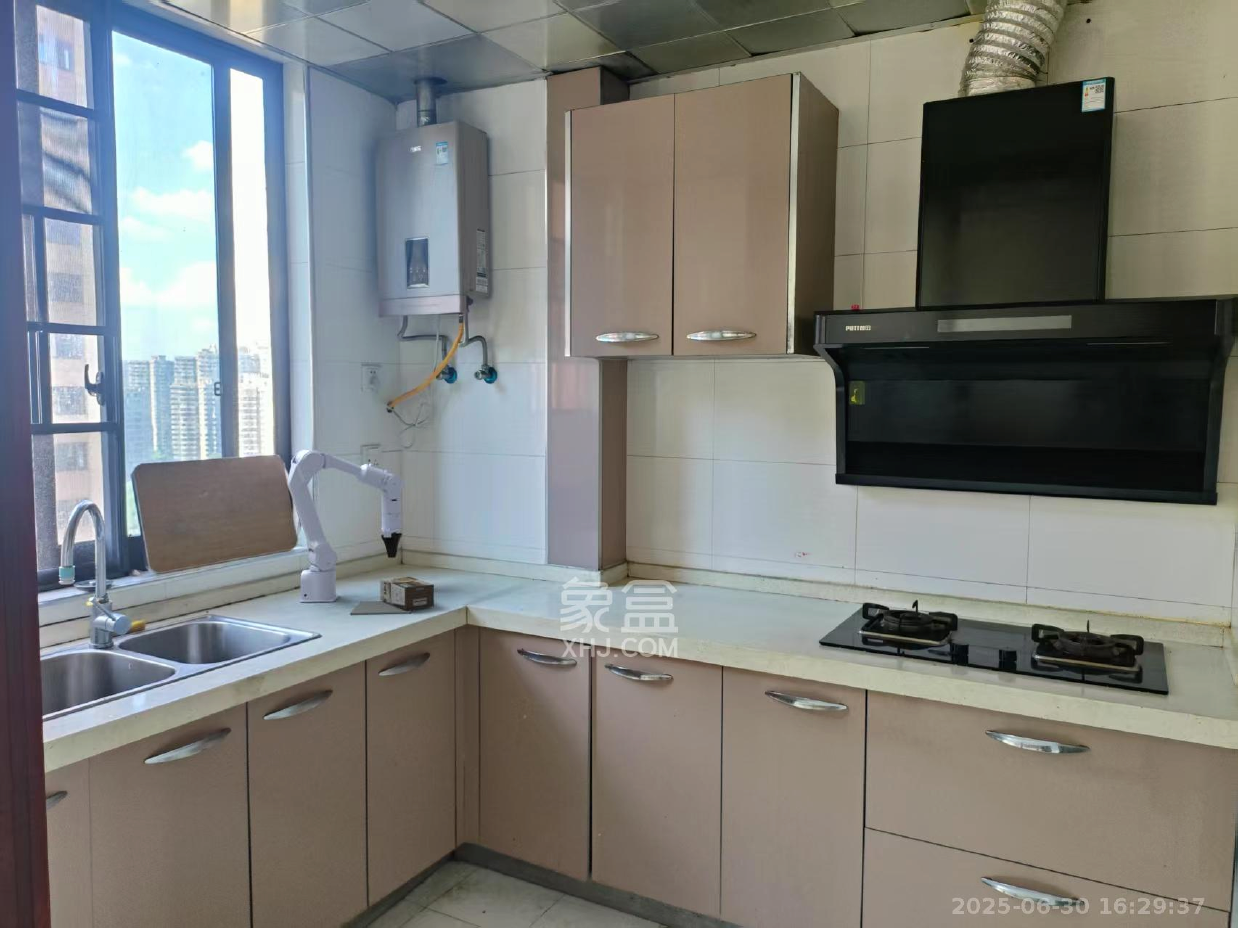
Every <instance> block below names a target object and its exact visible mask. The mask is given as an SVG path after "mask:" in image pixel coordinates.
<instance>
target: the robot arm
mask: <svg viewBox="0 0 1238 928" xmlns="http://www.w3.org/2000/svg"><path fill="white" fill-rule="evenodd" d="M323 469H324V470H327V469H328V470H329V469H335V470H338V471H341V472H343V473H347V474H350V475H353V476H355V477H356V479H357V481H358V483H361V484H363V485H367V486H370V487H372V488H375V489H377V490H380V491H381V500H380V501H381V528H380V530H381V532H383V534H381V537H380V538H381V540H382V542H383V543H384V546H385V549H386V554H387V558H389V559H390V558H391V559H393V558H396V557H397V553H398V547H399V543H400V540H401V538H402V536H403V533H402V532H399V531H404V530H405V531H406V527H405V526H402V505H401V504H402V501H401V500H402V498H401V492H402V491H403V488H404V486H405V483H404V482H403V480H402V478H401V477H400V476H399V475H397V474H394V473H393V474H392V473H390V471H389V470H387V469H384V470H382V469H380V468H377V467H375V464H373V463H369V464H368V463H365V464H362V465H358V464H356V463H353V462H351V461H348V460H346V459H343V458H342V457H341V458H340V457H339V456H337V455H333V454H330V453H326V452H320V451H318V450H313V449H312V450H311V449H307V448H306V449H304V448H303V449H300V450H299V451H297V452H296V454H294V457H292V459H291V460H290V469H289V474H288V478H287V487H288V490H289V493H290V496H291V498H292V501H293V504H294V507H295V509H296V513H297V515H298V519H299V521H300V525H301V527H302V531H303V533H304V536H305V539H306V548H307V556H306V558H307V560H308V562H309V563H310V566H309V568H308V569H303V570H302V572H301V574H300V603H317V602H318V603H321V602H322V603H323V602H324V603H326V602H327V603H328V602H329V603H331V602H335V601H336V600H337V599H338V598H339V597H340V596H341V594H339V593H337V585H336V584H337V583H336V581H337V579H336V578H337V577H336V564H337V563H338V555H337V553H336V552H335V551H334V550H333V549H332V547H331V545H330V542H329V540H328V539H327V538H326V535H325V533H324V530H323V527H322V525H321V522H320V518H319V516H318V512H317V510H316V507H315V503H314V501H313V499H312V496H311V492H310V490H309V487H308V486H309V483H310V481H311V480H312V479H313V476H315V475H317V474H318V473H319V472H320V471H321V470H323Z"/></svg>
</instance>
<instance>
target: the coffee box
mask: <svg viewBox="0 0 1238 928" xmlns="http://www.w3.org/2000/svg"><path fill="white" fill-rule="evenodd" d="M379 582H380V590H379V592H380V593H379V595H380V596H379V597H380V598H379V599H380V601H384V602H387V603H389V604H392V605H394V606H396V607H399V608H401V609H403V610H412V609H413V610H417V609H423V608H424V609H425V608H430V607H434V606H435V585H434V584H433V583H430V582H427V581H424V580H421V579H418V578H415V577H412V576H410V575H409V576H407V575H406V576H399V577H389V578H381V579H380V580H379ZM413 610H412V611H413Z"/></svg>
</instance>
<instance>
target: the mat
mask: <svg viewBox="0 0 1238 928" xmlns="http://www.w3.org/2000/svg"><path fill="white" fill-rule="evenodd" d="M413 610H414V609H412V610H403V609H401V608H399V607H396V606H394V605H392V604H389V603H387V602H384V601H382V600H379V601H378V600H377V601H376V600H374V601H372V600H371V601H368V600H367V601H360V602H359V603H358V604H357V605H356V606H355V607H354V608H353V610H352V611H350V613H349V615H350V616H353V615H354V616H359V615H362V616H363V615H365V616H368V615H409V614H410V615H411V614H412V611H413Z"/></svg>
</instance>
